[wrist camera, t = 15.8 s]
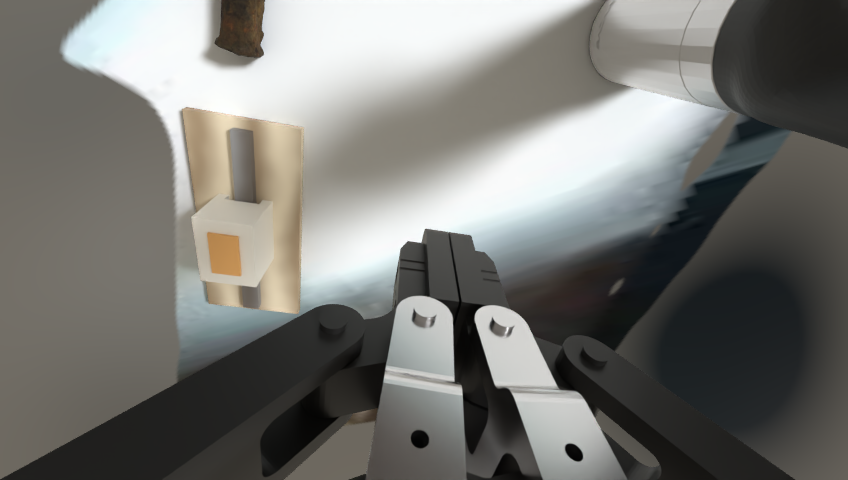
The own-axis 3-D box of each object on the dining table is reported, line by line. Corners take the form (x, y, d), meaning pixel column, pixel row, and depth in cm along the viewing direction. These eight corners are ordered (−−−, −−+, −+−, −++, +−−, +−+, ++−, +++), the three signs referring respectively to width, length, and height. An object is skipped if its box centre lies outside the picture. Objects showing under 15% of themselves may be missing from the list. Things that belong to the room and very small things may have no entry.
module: (272, 201, 43) (251, 227, 37) (273, 257, 47) (255, 288, 41) (219, 193, 42) (189, 218, 36) (225, 251, 46) (199, 282, 40)
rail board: (303, 127, 40) (298, 131, 38) (299, 309, 52) (296, 318, 51) (187, 107, 38) (176, 110, 36) (212, 298, 51) (205, 308, 49)
